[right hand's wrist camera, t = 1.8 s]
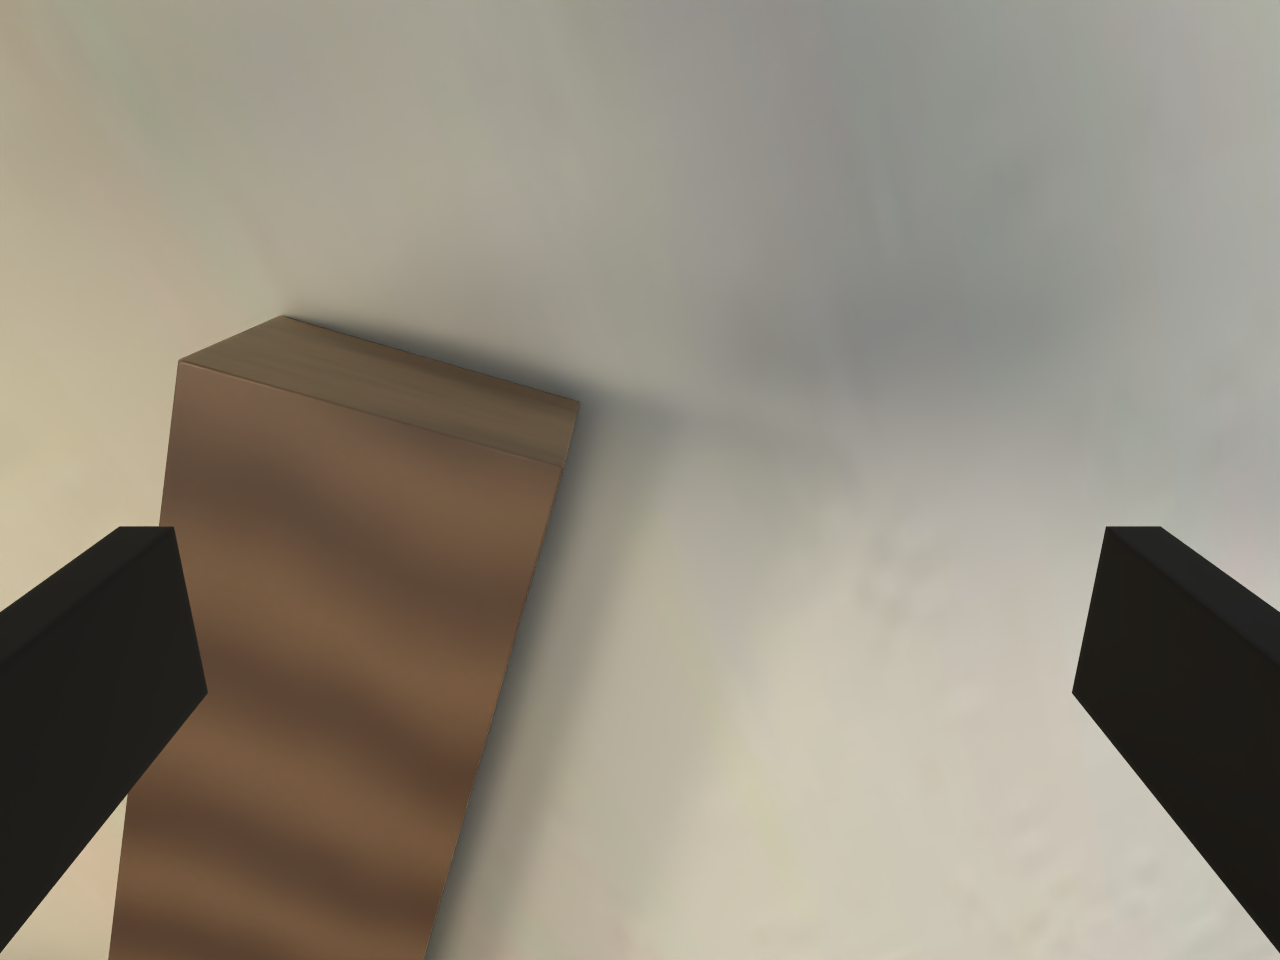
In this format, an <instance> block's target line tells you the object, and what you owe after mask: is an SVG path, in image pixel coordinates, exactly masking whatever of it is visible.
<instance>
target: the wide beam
mask: <svg viewBox="0 0 1280 960" xmlns="http://www.w3.org/2000/svg"><path fill="white" fill-rule="evenodd" d="M579 406H580V402H578V401H574V400H571V399H567V398H564V397H560V396H557V395H553V394H550V393H546V392H543V391H540V390H536V389H533V388H529V387H526V386H522V385H519V384H515V383H512V382H508V381H505V380H501V379H498V378H494V377H491V376H487V375H484V374H481V373H477V372H474V371H470V370H467V369H463V368H460V367H456V366H453V365H449V364H446V363H442V362H439V361H435V360H432V359H429V358H425V357H422V356H418V355H415V354H411V353H408V352H404V351H401V350H397V349H394V348H390V347H387V346H383V345H380V344H377V343H373V342H370V341H366V340H363V339H359V338H356V337H352V336H349V335H345V334H342V333H338V332H335V331H331V330H328V329H324V328H321V327H318V326H314V325H311V324H307V323H304V322H300V321H297V320H293V319H290V318H286V317H283V316H278V317H276V318H274V319H271V320H269V321H267V322H264V323H262V324H260V325H258V326H255V327H253V328H251V329H248V330H246V331H244V332H242V333H239V334H237V335H235V336H232V337H230V338H228V339H225V340H223V341H221V342H219V343H216V344H214V345H212V346H209V347H207V348H205V349H202V350H200V351H198V352H196V353H193V354H191V355H189V356H186V357H184V358H182V359H179V361H178V368H177V377H176V386H175V394H174V403H173V411H172V420H171V428H170V437H169V446H168V454H167V463H166V471H165V480H164V488H163V497H162V505H161V514H160V523H159V527H174V529H175V534H176V539H177V544H178V549H179V554H180V558H181V563H182V568H183V573H184V578H185V583H186V588H187V593H188V598H189V602H190V607H191V612H192V617H193V622H194V627H195V632H196V637H197V641H198V646H199V651H200V656H201V661H202V666H203V671H204V676H205V680H206V685H207V690H208V694H207V695H206V696H205V697H204V699H203V700H202V701H201V702H200V704H199V705H198V706H197V707H196V709H195V710H194V711H193V712H192V714H191V715H190V716H189V717H188V719H187V720H186V721H185V722H184V724H183V725H182V726H181V727H180V729H179V730H178V731H177V732H176V734H175V735H174V736H173V737H172V739H171V740H170V741H169V742H168V744H167V745H166V746H165V747H164V749H163V750H162V751H161V753H160V754H159V755H158V756H157V758H156V759H155V760H154V761H153V763H152V764H151V765H150V766H149V768H148V769H147V770H146V771H145V773H144V774H143V775H142V776H141V778H140V779H139V780H138V781H137V783H136V784H135V785H134V786H133V788H132V789H131V790H130V791H129V793H128V797H127V805H126V814H125V822H124V831H123V839H122V848H121V857H120V865H119V874H118V882H117V891H116V899H115V908H114V917H113V925H112V934H111V942H110V951H109V959H108V960H424V957H425V953H426V950H427V946H428V943H429V939H430V936H431V932H432V929H433V925H434V922H435V918H436V915H437V911H438V908H439V904H440V901H441V897H442V894H443V890H444V887H445V883H446V880H447V876H448V873H449V869H450V866H451V862H452V859H453V855H454V852H455V848H456V845H457V841H458V838H459V834H460V831H461V827H462V824H463V820H464V817H465V813H466V810H467V806H468V803H469V799H470V796H471V792H472V788H473V785H474V781H475V778H476V774H477V771H478V767H479V764H480V760H481V757H482V753H483V750H484V746H485V743H486V739H487V736H488V732H489V729H490V725H491V722H492V718H493V715H494V711H495V708H496V704H497V701H498V697H499V694H500V690H501V687H502V683H503V680H504V676H505V673H506V669H507V666H508V662H509V659H510V655H511V652H512V648H513V645H514V641H515V638H516V634H517V631H518V627H519V624H520V620H521V617H522V613H523V610H524V606H525V602H526V599H527V595H528V592H529V588H530V585H531V581H532V578H533V574H534V571H535V567H536V564H537V560H538V557H539V553H540V550H541V546H542V543H543V539H544V536H545V532H546V529H547V525H548V522H549V518H550V515H551V511H552V508H553V504H554V501H555V497H556V494H557V490H558V487H559V483H560V480H561V476H562V473H563V469H564V465H565V461H566V457H567V453H568V449H569V445H570V442H571V438H572V434H573V430H574V426H575V422H576V418H577V414H578V410H579Z"/></svg>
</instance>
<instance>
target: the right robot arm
mask: <svg viewBox="0 0 1280 960" xmlns="http://www.w3.org/2000/svg"><path fill="white" fill-rule="evenodd" d="M207 694H208V690H207V685H206V680H205V676H204V671H203V666H202V661H201V656H200V651H199V646H198V641H197V637H196V632H195V627H194V622H193V617H192V612H191V607H190V602H189V598H188V593H187V588H186V583H185V578H184V573H183V568H182V563H181V558H180V554H179V549H178V544H177V539H176V534H175V529H174V527H118V528H117V529H115V530H114V531H113V532H111V533H110V534H108V535H107V536H106V537H104V538H103V539H101V540H100V541H99V542H97V543H96V544H95V545H93V546H92V547H90V548H89V549H88V550H86V551H85V552H83V553H82V554H81V555H79V556H78V557H76V558H75V559H74V560H72V561H71V562H69V563H68V564H67V565H65V566H64V567H63V568H61V569H60V570H58V571H57V572H56V573H54V574H53V575H51V576H50V577H49V578H47V579H46V580H44V581H43V582H42V583H40V584H39V585H37V586H36V587H35V588H33V589H32V590H31V591H29V592H28V593H26V594H25V595H24V596H22V597H21V598H19V599H18V600H17V601H15V602H14V603H12V604H11V605H10V606H8V607H7V608H6V609H4V610H3V611H1V612H0V953H1V952H2V950H3V949H4V948H5V947H6V945H7V944H8V943H9V942H10V940H11V939H12V938H13V937H14V935H15V934H16V933H17V932H18V930H19V929H20V928H21V926H22V925H23V924H24V923H25V921H26V920H27V919H28V918H29V916H30V915H31V914H32V913H33V911H34V910H35V909H36V908H37V906H38V905H39V904H40V903H41V901H42V900H43V899H44V898H45V896H46V895H47V894H48V893H49V891H50V890H51V889H52V888H53V886H54V885H55V884H56V883H57V881H58V880H59V879H60V878H61V876H62V875H63V874H64V873H65V871H66V870H67V869H68V868H69V866H70V865H71V864H72V863H73V861H74V860H75V859H76V858H77V856H78V855H79V854H80V853H81V851H82V850H83V849H84V848H85V846H86V845H87V844H88V843H89V841H90V840H91V839H92V838H93V836H94V835H95V834H96V833H97V831H98V830H99V829H100V828H101V826H102V825H103V824H104V823H105V821H106V820H107V819H108V818H109V816H110V815H111V814H112V813H113V811H114V810H115V809H116V808H117V806H118V805H119V804H120V803H121V801H122V800H123V799H124V798H125V796H126V795H127V794H128V793H129V791H130V790H131V789H132V788H133V786H134V785H135V784H136V783H137V781H138V780H139V779H140V778H141V776H142V775H143V774H144V773H145V771H146V770H147V769H148V768H149V766H150V765H151V764H152V763H153V761H154V760H155V759H156V758H157V756H158V755H159V754H160V753H161V751H162V750H163V749H164V747H165V746H166V745H167V744H168V742H169V741H170V740H171V739H172V737H173V736H174V735H175V734H176V732H177V731H178V730H179V729H180V727H181V726H182V725H183V724H184V722H185V721H186V720H187V719H188V717H189V716H190V715H191V714H192V712H193V711H194V710H195V709H196V707H197V706H198V705H199V704H200V702H201V701H202V700H203V699H204V697H205V696H206V695H207ZM1072 694H1073V695H1074V696H1075V697H1076V699H1077V700H1078V701H1079V702H1080V704H1081V705H1082V706H1083V707H1084V709H1085V710H1086V711H1087V712H1088V714H1089V715H1090V716H1091V717H1092V719H1093V720H1094V721H1095V722H1096V724H1097V725H1098V726H1099V727H1100V729H1101V730H1102V731H1103V732H1104V734H1105V735H1106V736H1107V737H1108V739H1109V740H1110V741H1111V742H1112V744H1113V745H1114V746H1115V748H1116V749H1117V750H1118V751H1119V753H1120V754H1121V755H1122V756H1123V758H1124V759H1125V760H1126V761H1127V763H1128V764H1129V765H1130V766H1131V768H1132V769H1133V770H1134V771H1135V773H1136V774H1137V775H1138V776H1139V778H1140V779H1141V780H1142V781H1143V783H1144V784H1145V785H1146V786H1147V788H1148V789H1149V790H1150V791H1151V793H1152V794H1153V795H1154V796H1155V798H1156V799H1157V800H1158V801H1159V803H1160V804H1161V805H1162V806H1163V808H1164V809H1165V810H1166V811H1167V813H1168V814H1169V815H1170V816H1171V818H1172V819H1173V820H1174V821H1175V823H1176V824H1177V825H1178V826H1179V828H1180V829H1181V830H1182V831H1183V833H1184V834H1185V835H1186V836H1187V838H1188V839H1189V840H1190V841H1191V843H1192V844H1193V845H1194V846H1195V848H1196V849H1197V850H1198V851H1199V853H1200V854H1201V855H1202V856H1203V858H1204V859H1205V860H1206V861H1207V863H1208V864H1209V865H1210V866H1211V868H1212V869H1213V870H1214V871H1215V873H1216V874H1217V875H1218V876H1219V878H1220V879H1221V880H1222V881H1223V883H1224V884H1225V885H1226V886H1227V888H1228V889H1229V890H1230V891H1231V893H1232V894H1233V895H1234V896H1235V898H1236V899H1237V900H1238V901H1239V903H1240V904H1241V905H1242V906H1243V908H1244V909H1245V910H1246V911H1247V913H1248V914H1249V915H1250V916H1251V918H1252V919H1253V920H1254V921H1255V923H1256V924H1257V925H1258V926H1259V928H1260V929H1261V930H1262V932H1263V933H1264V934H1265V935H1266V937H1267V938H1268V939H1269V940H1270V942H1271V943H1272V944H1273V945H1274V947H1275V948H1276V949H1277V950H1278V952H1279V953H1280V612H1279V611H1277V610H1276V609H1274V608H1273V607H1272V606H1270V605H1269V604H1268V603H1266V602H1265V601H1263V600H1262V599H1261V598H1259V597H1258V596H1256V595H1255V594H1254V593H1252V592H1251V591H1249V590H1248V589H1247V588H1245V587H1244V586H1243V585H1241V584H1240V583H1238V582H1237V581H1236V580H1234V579H1233V578H1231V577H1230V576H1229V575H1227V574H1226V573H1224V572H1223V571H1222V570H1220V569H1219V568H1217V567H1216V566H1215V565H1213V564H1212V563H1211V562H1209V561H1208V560H1206V559H1205V558H1204V557H1202V556H1201V555H1199V554H1198V553H1197V552H1195V551H1194V550H1192V549H1191V548H1190V547H1188V546H1187V545H1185V544H1184V543H1183V542H1181V541H1180V540H1179V539H1177V538H1176V537H1174V536H1173V535H1172V534H1170V533H1169V532H1167V531H1166V530H1165V529H1163V528H1162V527H1106V529H1105V534H1104V539H1103V544H1102V549H1101V554H1100V558H1099V563H1098V568H1097V573H1096V578H1095V583H1094V588H1093V593H1092V597H1091V602H1090V607H1089V612H1088V617H1087V622H1086V627H1085V632H1084V636H1083V641H1082V646H1081V651H1080V656H1079V661H1078V666H1077V671H1076V676H1075V680H1074V685H1073V690H1072Z"/></svg>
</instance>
